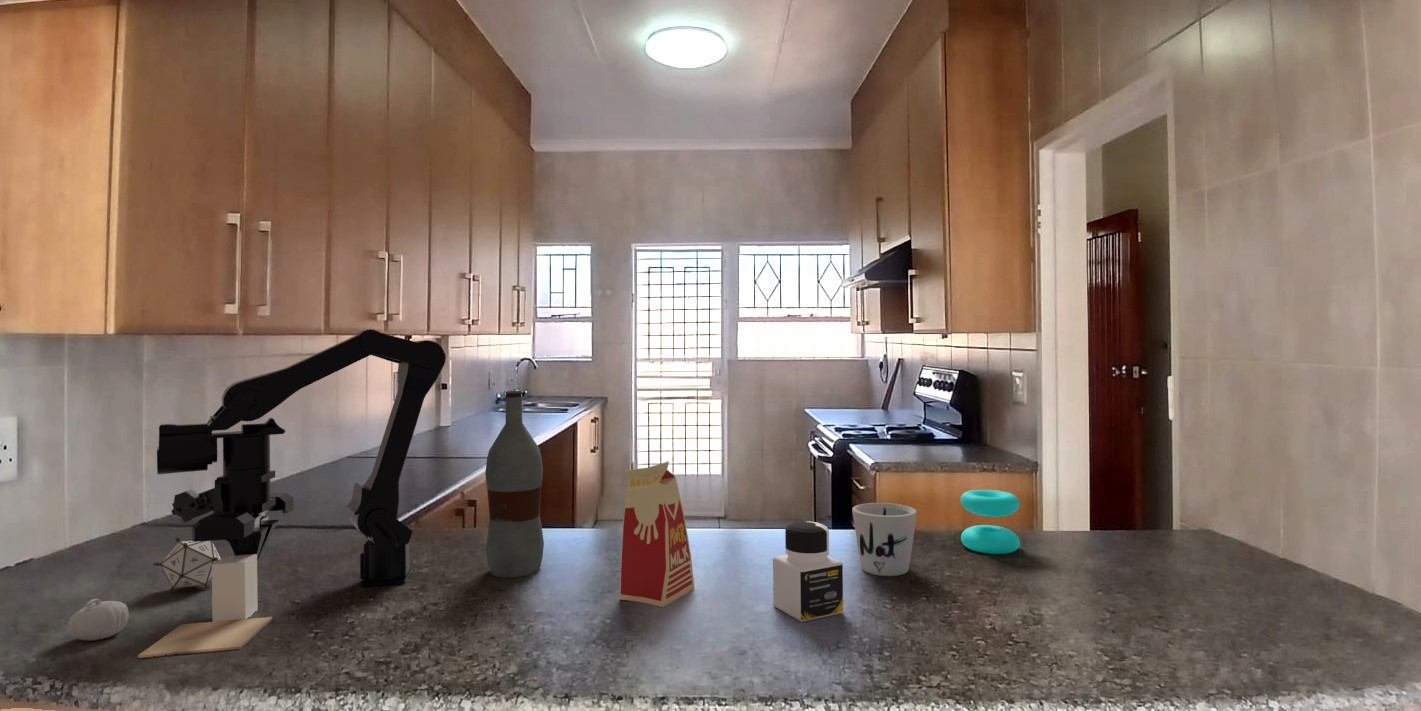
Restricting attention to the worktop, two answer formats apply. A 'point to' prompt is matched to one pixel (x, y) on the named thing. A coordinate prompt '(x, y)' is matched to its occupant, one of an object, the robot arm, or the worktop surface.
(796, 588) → the medicine bottle
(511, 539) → the vodka
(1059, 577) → the worktop surface
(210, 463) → the robot arm
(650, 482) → the milk carton
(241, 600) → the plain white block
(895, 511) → the mug
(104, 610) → the garlic
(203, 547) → the game die
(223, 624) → the cork trivet
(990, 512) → the donuts
